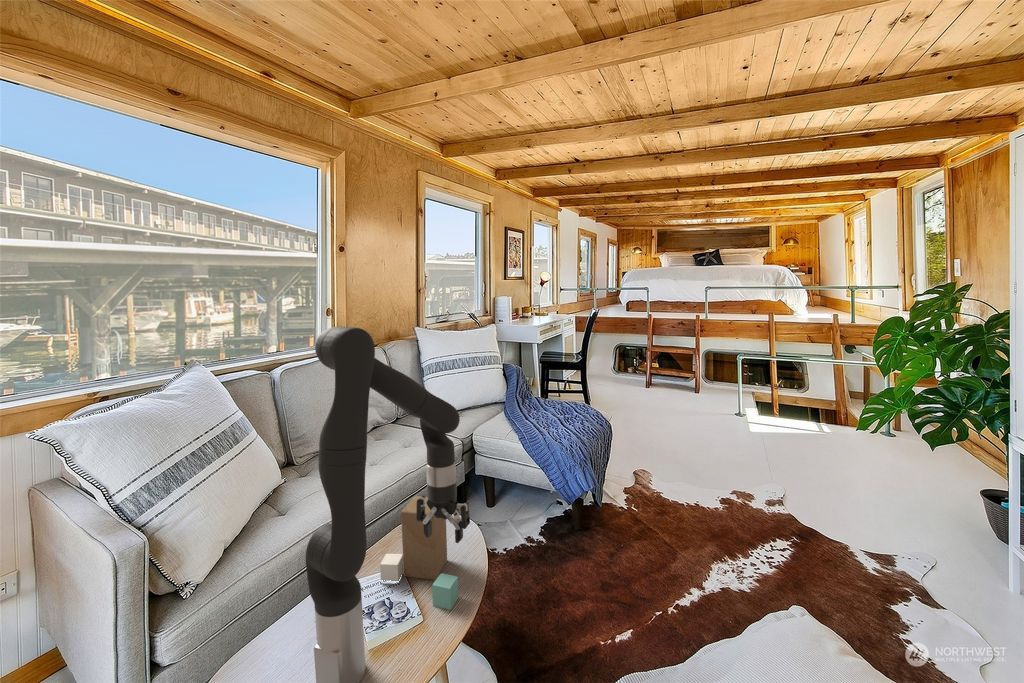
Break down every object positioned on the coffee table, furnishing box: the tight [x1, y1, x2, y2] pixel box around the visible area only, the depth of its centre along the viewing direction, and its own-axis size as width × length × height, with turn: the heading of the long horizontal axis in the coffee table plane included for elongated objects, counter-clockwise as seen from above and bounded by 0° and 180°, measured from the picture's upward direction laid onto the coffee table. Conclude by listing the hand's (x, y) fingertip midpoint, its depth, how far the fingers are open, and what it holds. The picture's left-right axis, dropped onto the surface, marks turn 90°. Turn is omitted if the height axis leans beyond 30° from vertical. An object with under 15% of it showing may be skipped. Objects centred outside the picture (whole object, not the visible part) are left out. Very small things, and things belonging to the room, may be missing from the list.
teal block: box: [431, 572, 459, 611], centre depth 116 cm, size 5×5×6 cm
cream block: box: [379, 553, 404, 581], centre depth 126 cm, size 5×5×6 cm
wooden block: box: [400, 495, 448, 581], centre depth 130 cm, size 10×10×20 cm
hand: (443, 538), depth 115 cm, fingers open, 8 cm apart
